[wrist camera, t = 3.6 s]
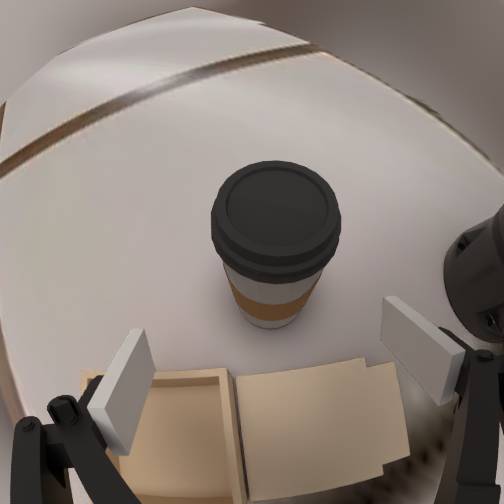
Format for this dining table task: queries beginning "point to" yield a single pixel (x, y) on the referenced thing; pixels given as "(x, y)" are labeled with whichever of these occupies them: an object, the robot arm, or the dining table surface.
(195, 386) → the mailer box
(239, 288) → the coffee cup
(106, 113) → the dining table surface
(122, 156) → the dining table surface
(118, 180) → the dining table surface
